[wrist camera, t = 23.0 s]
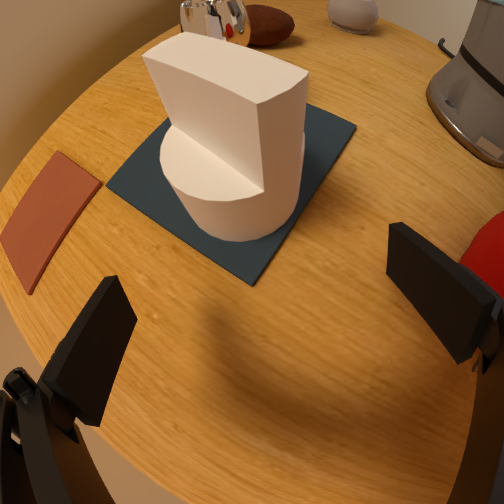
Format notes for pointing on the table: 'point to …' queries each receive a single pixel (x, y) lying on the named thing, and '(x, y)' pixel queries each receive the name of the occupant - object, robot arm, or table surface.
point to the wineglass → (217, 20)
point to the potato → (268, 25)
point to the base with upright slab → (230, 133)
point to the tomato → (488, 254)
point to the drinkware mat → (184, 227)
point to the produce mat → (45, 217)
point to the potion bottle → (353, 15)
